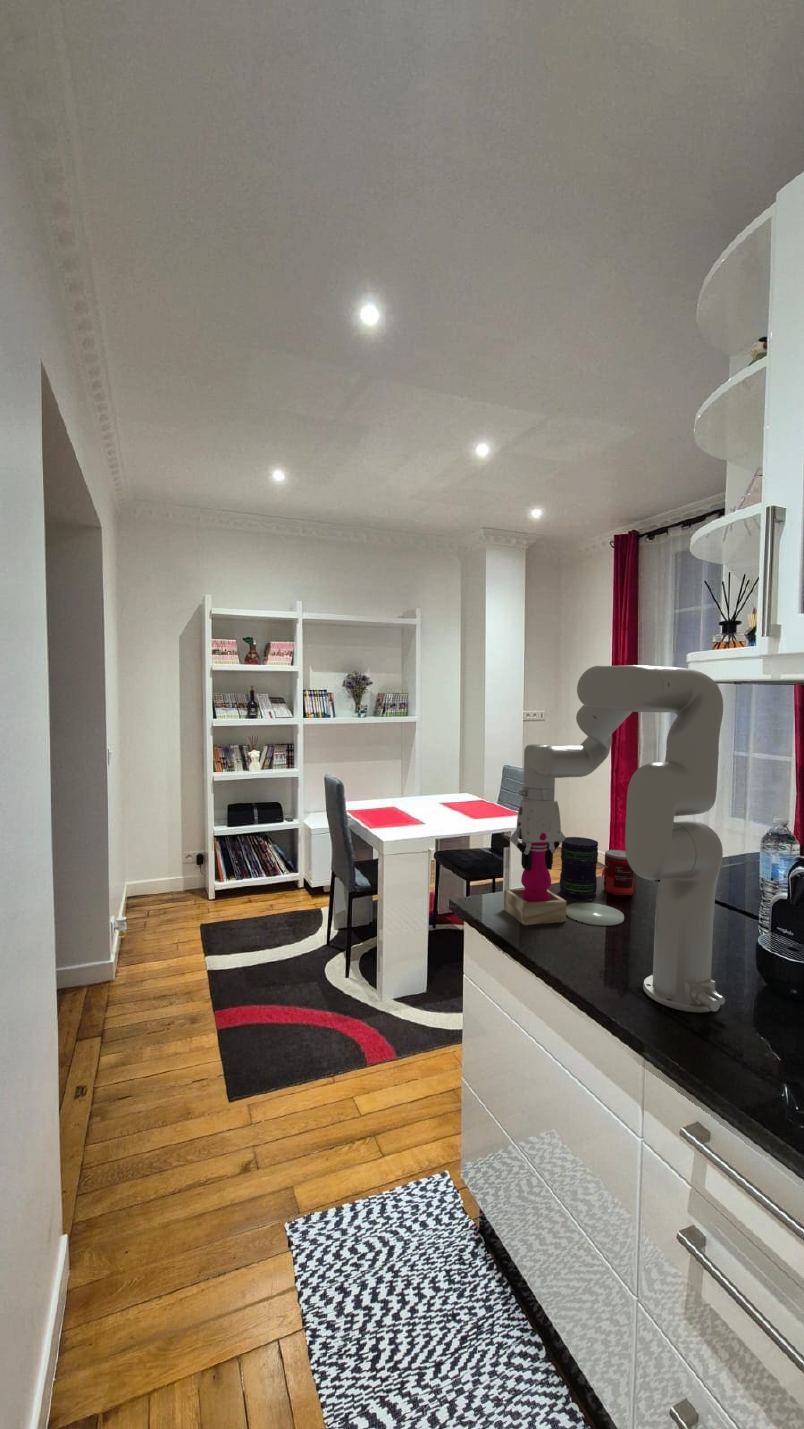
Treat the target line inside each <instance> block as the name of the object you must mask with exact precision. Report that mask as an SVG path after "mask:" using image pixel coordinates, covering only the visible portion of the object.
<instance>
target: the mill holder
mask: <svg viewBox="0 0 804 1429" xmlns="http://www.w3.org/2000/svg"><path fill="white" fill-rule="evenodd" d="M524 889H525V887H522V888H510V889H509V888H508V889H504V892H503V893H504V895H503V910H504V911H505V912H507V913H508V914H509V915H510V916H512V917H513V918H515V919H516V920H517V921H518V922H519V923H521V924H522V925H523V926H529V925H542V924H543V925H544V924H554V923H555V922H556V923H565V922H564V921H566V922H567V915H566V906H567V900H565V899H564V898H562V896H560V895H558V894H556V893H554V892H553V891H550V890H549V889H547V891H548V892H549V900H548V901H540V902H531V901H527V900H525V899H524V898H523V890H524Z"/></svg>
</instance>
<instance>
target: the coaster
mask: <svg viewBox="0 0 804 1429" xmlns="http://www.w3.org/2000/svg"><path fill="white" fill-rule="evenodd" d="M566 917H568V918H569V919H572V920H574V921H576V920H577V921H576V922H579V923H582V922H583V924H587V925H591V926H603V927H604V926H605V927H606V926H607V927H608V926H616V925H617V926H618V925H620V924H622V923H623V922H624V921H625V915H624V913H623V912H621V910H619V909H617V908H614V907H613V906H609V905H605V904H600V903H595V902H574V903H573V902H572V903H570V904H566Z"/></svg>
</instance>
